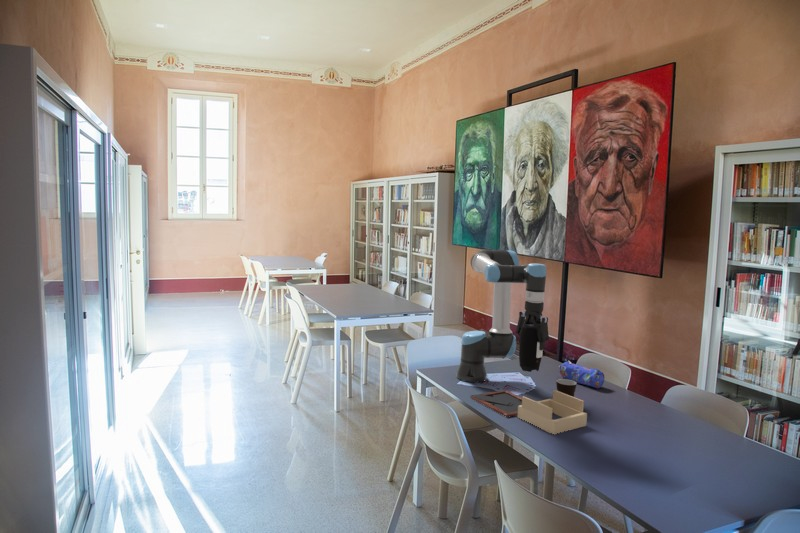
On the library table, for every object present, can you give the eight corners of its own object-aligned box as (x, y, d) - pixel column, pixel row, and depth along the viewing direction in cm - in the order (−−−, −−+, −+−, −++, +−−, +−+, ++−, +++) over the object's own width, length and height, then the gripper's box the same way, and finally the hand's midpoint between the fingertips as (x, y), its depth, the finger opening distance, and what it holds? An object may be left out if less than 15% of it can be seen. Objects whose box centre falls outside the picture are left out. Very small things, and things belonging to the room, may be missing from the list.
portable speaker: (543, 372, 223) (547, 326, 221) (521, 372, 222) (524, 325, 220) (536, 366, 232) (540, 321, 229) (515, 365, 231) (518, 320, 228)
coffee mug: (570, 409, 234) (572, 386, 233) (551, 404, 239) (553, 382, 238) (580, 402, 243) (581, 380, 242) (561, 397, 248) (563, 376, 247)
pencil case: (557, 378, 278) (558, 360, 277) (567, 375, 283) (568, 358, 282) (595, 390, 260) (596, 371, 260) (605, 387, 266) (606, 368, 265)
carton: (517, 417, 221) (518, 395, 220) (549, 409, 232) (550, 388, 231) (553, 434, 206) (555, 410, 205) (586, 425, 216) (588, 402, 215)
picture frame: (470, 399, 243) (506, 419, 221) (470, 394, 243) (506, 414, 221) (505, 393, 252) (543, 412, 231) (505, 389, 252) (543, 407, 230)
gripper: (509, 297, 230) (505, 348, 233) (548, 306, 212) (544, 362, 215) (521, 296, 234) (518, 347, 237) (561, 305, 216) (557, 360, 219)
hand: (530, 354), depth 226 cm, fingers closed on portable speaker, 9 cm apart
